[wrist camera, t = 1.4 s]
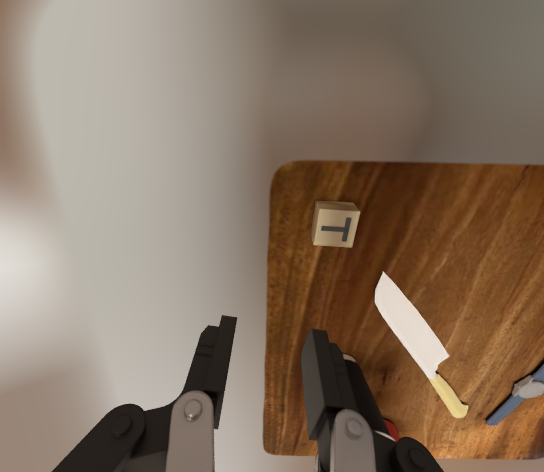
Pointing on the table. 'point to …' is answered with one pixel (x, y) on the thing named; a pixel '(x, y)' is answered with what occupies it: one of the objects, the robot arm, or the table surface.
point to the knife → (416, 339)
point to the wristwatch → (520, 395)
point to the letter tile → (334, 223)
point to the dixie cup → (365, 398)
